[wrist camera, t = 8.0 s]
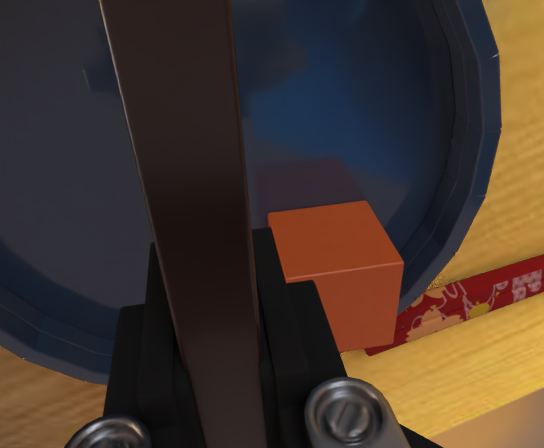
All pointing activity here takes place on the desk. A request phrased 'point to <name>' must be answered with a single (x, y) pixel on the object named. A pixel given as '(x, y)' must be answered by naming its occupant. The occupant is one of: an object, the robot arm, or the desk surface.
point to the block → (344, 268)
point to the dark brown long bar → (196, 197)
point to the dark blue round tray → (257, 146)
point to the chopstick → (466, 300)
